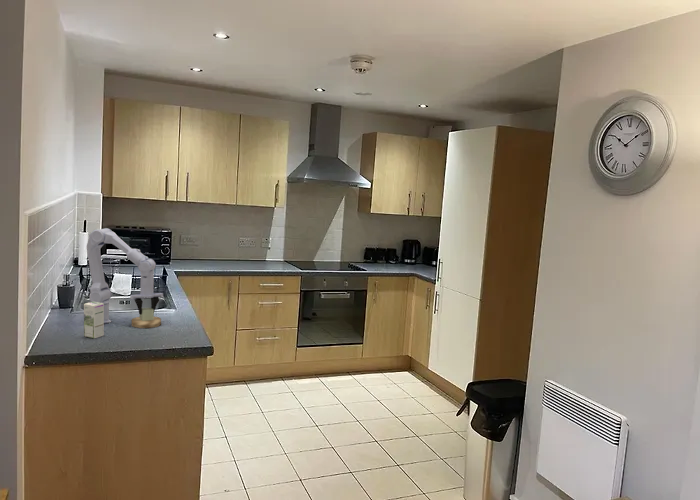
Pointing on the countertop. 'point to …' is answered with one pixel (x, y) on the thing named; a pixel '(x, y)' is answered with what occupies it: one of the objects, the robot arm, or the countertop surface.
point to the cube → (147, 314)
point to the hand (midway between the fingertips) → (146, 313)
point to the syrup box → (93, 319)
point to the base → (146, 323)
